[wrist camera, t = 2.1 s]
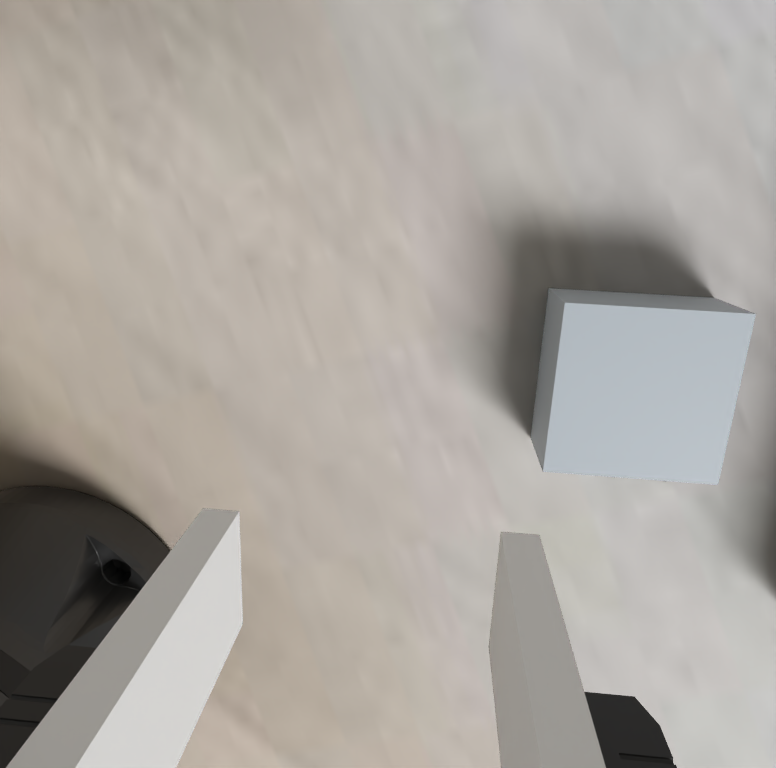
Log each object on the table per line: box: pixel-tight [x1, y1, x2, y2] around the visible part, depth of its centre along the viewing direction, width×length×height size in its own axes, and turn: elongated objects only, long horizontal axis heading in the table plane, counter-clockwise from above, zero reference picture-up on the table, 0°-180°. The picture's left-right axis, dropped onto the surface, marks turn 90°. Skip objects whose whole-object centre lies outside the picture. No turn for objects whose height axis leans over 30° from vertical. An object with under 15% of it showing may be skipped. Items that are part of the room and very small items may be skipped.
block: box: [531, 288, 756, 485], centre depth 27 cm, size 7×7×4 cm
